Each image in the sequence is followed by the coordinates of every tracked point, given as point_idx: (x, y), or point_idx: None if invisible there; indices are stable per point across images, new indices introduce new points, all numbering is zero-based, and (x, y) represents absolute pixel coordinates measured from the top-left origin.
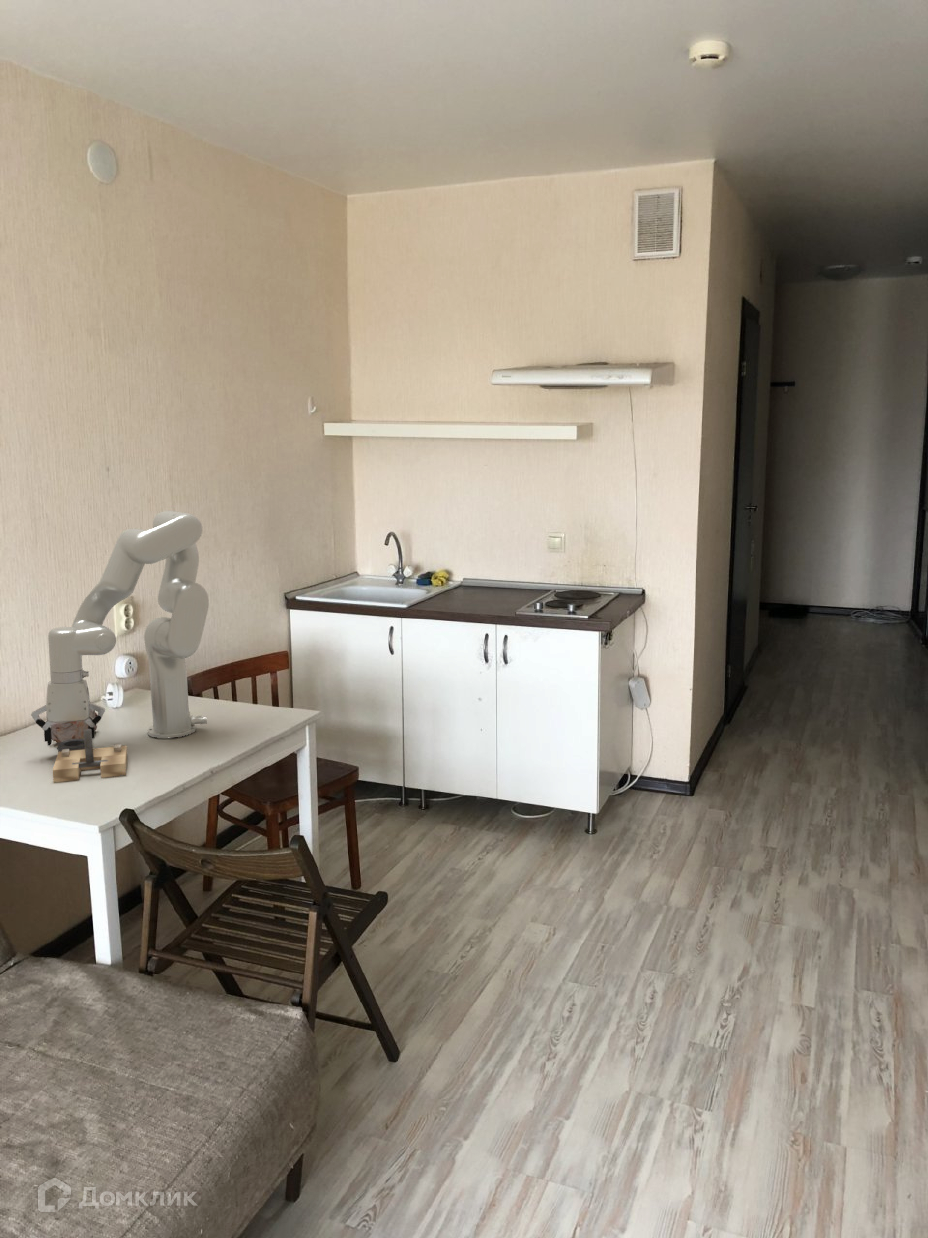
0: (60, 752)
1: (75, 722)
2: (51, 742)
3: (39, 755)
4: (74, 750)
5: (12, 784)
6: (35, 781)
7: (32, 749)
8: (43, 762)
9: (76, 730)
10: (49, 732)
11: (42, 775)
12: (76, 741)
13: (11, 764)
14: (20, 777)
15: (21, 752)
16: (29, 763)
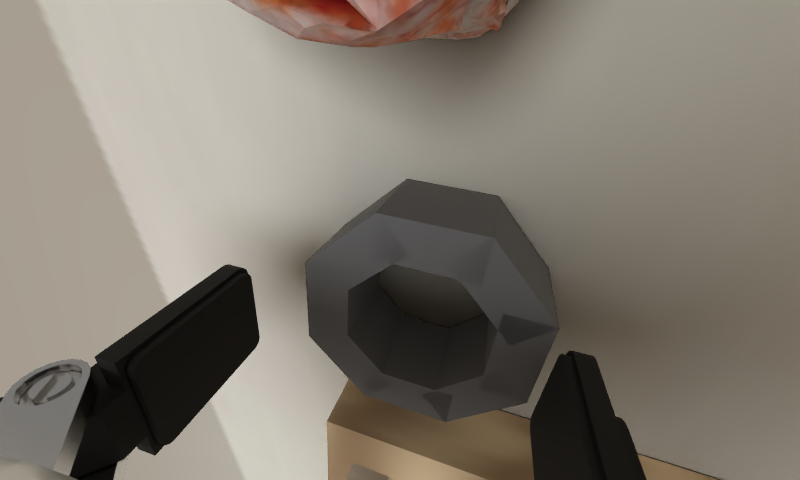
0: (339, 437)
1: (438, 32)
2: (251, 291)
3: (236, 183)
4: (415, 457)
5: (234, 444)
6: (294, 465)
7: (151, 7)
8: (282, 310)
9: (471, 25)
10: (176, 430)
11: (306, 437)
12: (447, 272)
13: (153, 260)
14: (239, 411)
15: (112, 59)
16: None
